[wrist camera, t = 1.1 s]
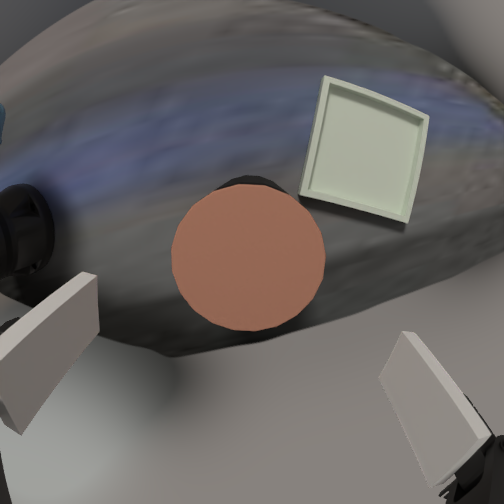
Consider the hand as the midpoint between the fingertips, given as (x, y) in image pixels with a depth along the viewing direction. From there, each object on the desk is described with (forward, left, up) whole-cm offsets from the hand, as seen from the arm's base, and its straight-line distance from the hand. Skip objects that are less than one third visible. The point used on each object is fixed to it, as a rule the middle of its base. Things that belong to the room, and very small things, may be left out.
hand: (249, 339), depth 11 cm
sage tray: (+13, +12, -27) cm, 32 cm away
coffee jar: (0, 0, -27) cm, 27 cm away
